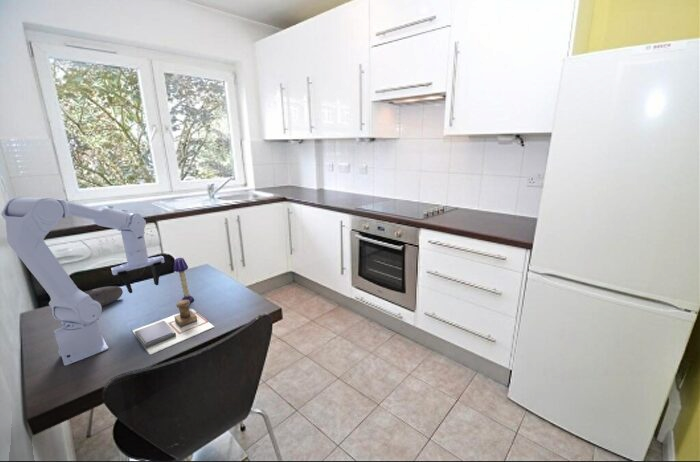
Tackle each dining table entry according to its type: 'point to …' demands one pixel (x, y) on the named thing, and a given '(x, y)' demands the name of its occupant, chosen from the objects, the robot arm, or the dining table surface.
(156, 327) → the ink pad
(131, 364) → the dining table surface
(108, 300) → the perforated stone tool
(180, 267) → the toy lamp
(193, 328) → the paper sheet
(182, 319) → the stamp
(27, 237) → the robot arm
